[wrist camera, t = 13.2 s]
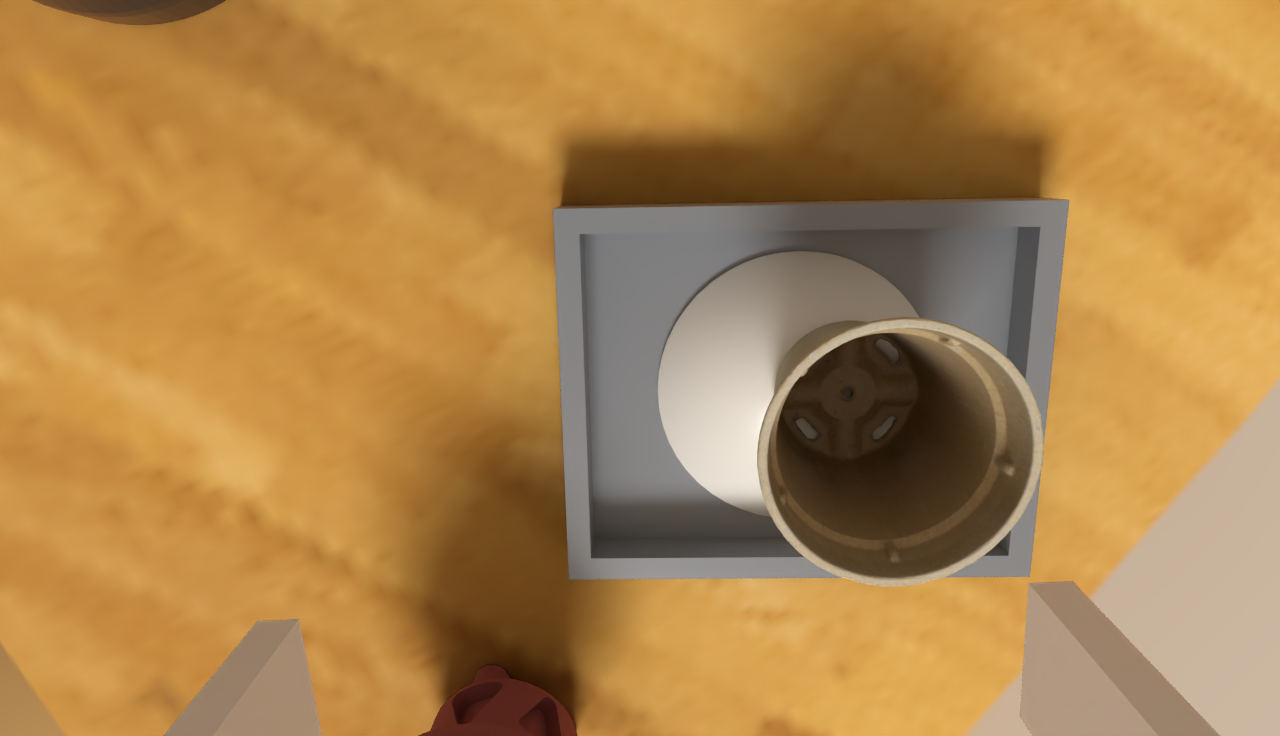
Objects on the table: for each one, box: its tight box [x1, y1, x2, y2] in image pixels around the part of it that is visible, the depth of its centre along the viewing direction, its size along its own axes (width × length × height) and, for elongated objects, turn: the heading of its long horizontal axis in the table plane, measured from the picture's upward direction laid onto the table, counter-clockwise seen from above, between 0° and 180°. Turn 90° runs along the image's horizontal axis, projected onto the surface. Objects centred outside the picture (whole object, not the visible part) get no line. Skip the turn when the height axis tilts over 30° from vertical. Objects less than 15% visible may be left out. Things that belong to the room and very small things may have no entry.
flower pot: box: [757, 317, 1044, 586], centre depth 32 cm, size 9×9×9 cm
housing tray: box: [553, 197, 1069, 579], centre depth 35 cm, size 16×20×2 cm
